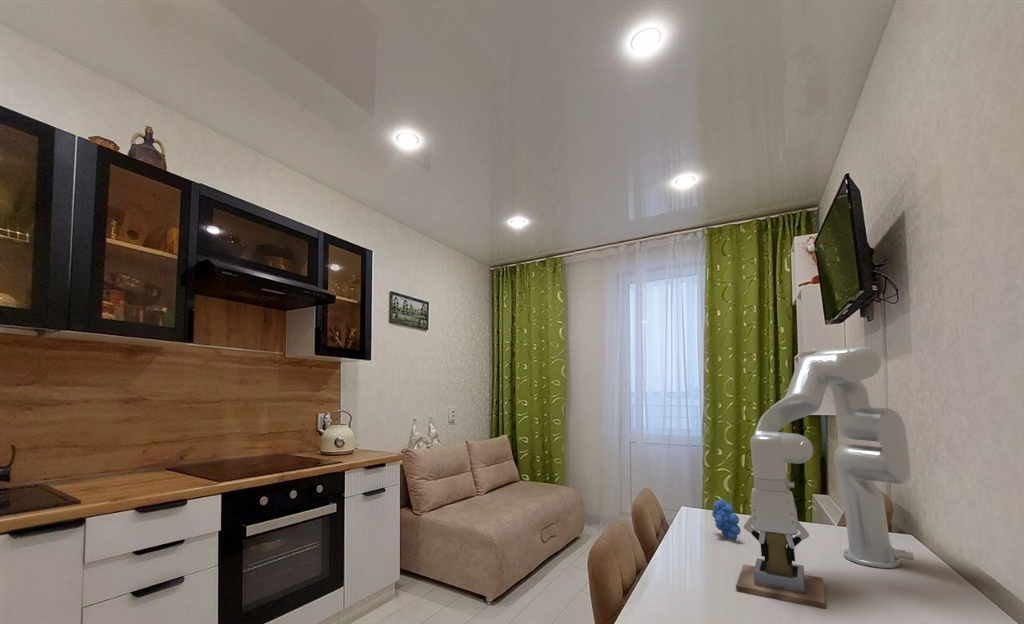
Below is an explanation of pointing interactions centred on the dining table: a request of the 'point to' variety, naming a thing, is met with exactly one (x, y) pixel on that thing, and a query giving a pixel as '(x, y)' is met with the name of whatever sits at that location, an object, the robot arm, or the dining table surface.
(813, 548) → the dining table surface
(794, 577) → the collar
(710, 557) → the dining table surface
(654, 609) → the dining table surface
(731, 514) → the grapes
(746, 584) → the collar board
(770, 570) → the cork
